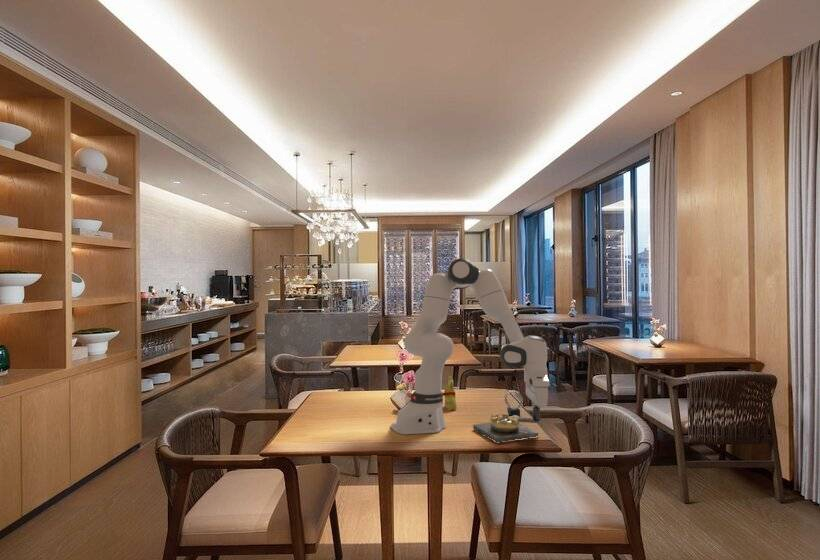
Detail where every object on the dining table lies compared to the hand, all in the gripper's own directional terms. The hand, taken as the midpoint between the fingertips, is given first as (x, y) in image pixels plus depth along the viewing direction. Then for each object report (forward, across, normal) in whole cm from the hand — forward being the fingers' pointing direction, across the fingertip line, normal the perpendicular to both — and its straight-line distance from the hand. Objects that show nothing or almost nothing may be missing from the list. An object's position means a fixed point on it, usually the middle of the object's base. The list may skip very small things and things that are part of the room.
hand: (535, 412), depth 186 cm
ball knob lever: (+6, +1, -8) cm, 10 cm away
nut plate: (+8, 0, -12) cm, 15 cm away
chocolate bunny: (+8, -37, -32) cm, 50 cm away
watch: (+8, -25, -4) cm, 27 cm away
